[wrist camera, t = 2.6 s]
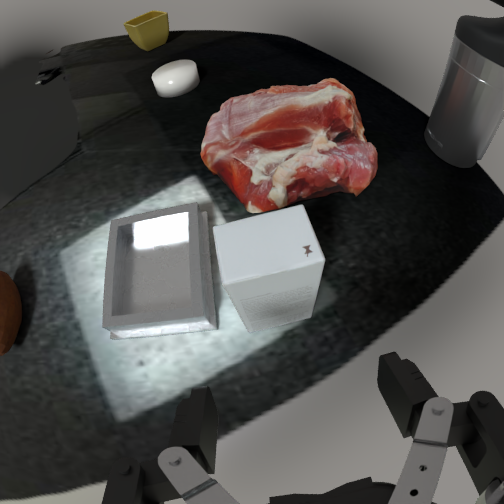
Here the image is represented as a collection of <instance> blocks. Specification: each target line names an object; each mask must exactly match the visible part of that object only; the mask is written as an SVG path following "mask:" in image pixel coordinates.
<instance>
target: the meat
mask: <svg viewBox="0 0 504 504" xmlns="http://www.w3.org/2000/svg"><path fill="white" fill-rule="evenodd" d="M201 157H202V160H203V161H204V163H205V165H206V166H207V167H208V168H209V169H210V171H211V172H212V173H213V175H216V174H217V175H218V176H219V177H220V178H221V179H222V180H223V181H224V183H225V184H226V185H227V186H228V187H229V188H230V190H231V191H232V192H233V193H234V194H235V196H236V197H237V198H238V199H239V201H240V202H241V203H242V204H244V206H245V208H246V209H247V211H248V212H251V213H260V212H264V211H269V210H275V209H280V208H282V207H285V206H288V205H290V204H293V203H295V202H298V201H302V200H306V199H311V198H317V197H322V196H327V195H328V194H330V193H335V192H339V191H341V192H346V193H354V194H355V195H356V196H357V195H359V194H360V193H361V192H362V191H363V190H364V189H365V188H366V187H367V186H368V185H369V184H370V182H371V181H372V179H373V178H374V177H375V175H376V172H377V168H378V166H377V151H376V149H375V148H374V146H373V145H372V144H371V143H370V142H367V140H366V138H365V136H364V128H363V125H362V121H361V116H360V113H359V111H358V109H357V106H356V102H355V97H354V95H353V93H352V91H350V90H349V89H348V88H346V87H345V86H344V85H342V84H340V83H339V82H338V81H337V80H335V79H333V78H329V79H324V80H322V81H321V82H319V83H318V84H315V85H310V86H295V85H285V86H277V85H276V86H272V87H271V88H270V89H260V90H257V91H256V92H254V93H252V94H248V95H241V96H238V97H232V98H230V99H229V100H227V101H226V102H225V103H223V104H222V105H221V107H220V111H219V112H218V113H215V114H213V115H212V117H211V118H210V120H209V122H208V124H207V127H206V132H205V137H204V139H203V143H202V151H201Z"/></svg>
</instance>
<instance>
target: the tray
mask: <svg viewBox="0 0 504 504" xmlns="http://www.w3.org/2000/svg"><path fill="white" fill-rule="evenodd" d="M102 327H103V328H105V329H107V330H109V331H111V335H110V339H112V340H120V339H133V338H145V337H156V336H166V335H176V334H185V333H193V332H202V331H210V330H217V321H216V310H215V300H214V289H213V277H212V265H211V252H210V239H209V224H208V213H207V211H203V212H201V211H200V208H199V206H198V203H197V202H196V203H191V204H186V205H181V206H176V207H171V208H166V209H161V210H156V211H152V212H147V213H142V214H138V215H133V216H129V217H124V218H120V219H115V220H111V225H110V233H109V241H108V250H107V260H106V271H105V284H104V300H103V326H102Z"/></svg>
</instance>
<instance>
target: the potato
mask: <svg viewBox="0 0 504 504" xmlns="http://www.w3.org/2000/svg"><path fill="white" fill-rule="evenodd" d="M21 321H22V304H21V298H20V295H19V292H18V289H17V286H16V285H15V283H14V281H13V280H12V279H11V278H10V276H9V275H8V274H7V273H5V272H3V271H0V356H2V355H4V354H5V353H7V352H8V351H9V350H10V348H11V347H12V345H13V344H14V341H15V339H16V336H17V333H18V330H19V327H20V324H21Z"/></svg>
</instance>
